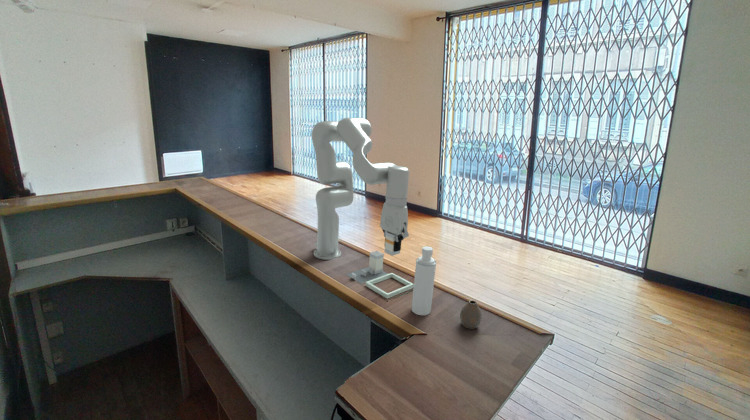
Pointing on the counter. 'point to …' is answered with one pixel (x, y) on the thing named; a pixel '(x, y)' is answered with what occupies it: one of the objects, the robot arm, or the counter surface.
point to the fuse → (376, 262)
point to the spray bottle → (424, 282)
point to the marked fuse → (390, 244)
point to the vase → (471, 315)
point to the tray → (393, 293)
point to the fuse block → (365, 275)
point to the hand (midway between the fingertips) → (392, 248)
